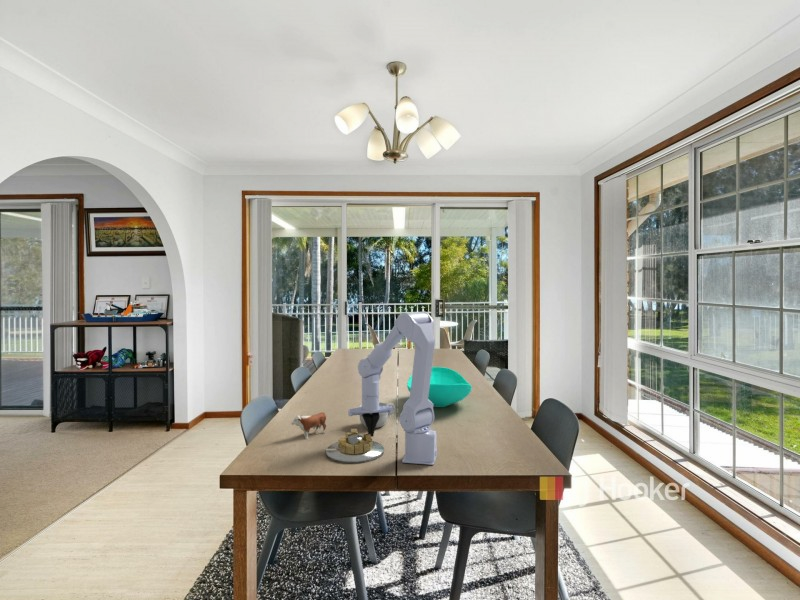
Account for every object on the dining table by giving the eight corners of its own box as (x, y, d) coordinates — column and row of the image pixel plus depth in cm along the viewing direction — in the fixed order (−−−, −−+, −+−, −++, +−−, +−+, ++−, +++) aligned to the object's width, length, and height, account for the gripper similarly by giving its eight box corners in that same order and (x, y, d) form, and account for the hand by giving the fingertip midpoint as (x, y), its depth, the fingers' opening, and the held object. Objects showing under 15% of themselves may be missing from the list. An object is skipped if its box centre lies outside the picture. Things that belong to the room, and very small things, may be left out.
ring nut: (378, 439, 152) (378, 429, 152) (366, 454, 138) (366, 443, 138) (348, 437, 154) (348, 427, 154) (333, 452, 140) (333, 441, 140)
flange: (389, 444, 151) (389, 429, 151) (375, 465, 134) (375, 449, 133) (337, 440, 155) (337, 426, 155) (317, 460, 137) (317, 444, 137)
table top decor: (480, 417, 181) (480, 384, 180) (410, 419, 180) (410, 385, 179) (462, 393, 221) (462, 366, 220) (404, 394, 219) (404, 367, 219)
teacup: (361, 431, 165) (361, 409, 164) (356, 422, 175) (356, 402, 175) (399, 428, 168) (399, 406, 168) (392, 419, 179) (392, 399, 178)
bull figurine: (289, 439, 157) (289, 415, 157) (322, 430, 166) (322, 407, 166) (296, 442, 154) (296, 418, 154) (329, 433, 163) (329, 410, 163)
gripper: (388, 390, 158) (389, 430, 158) (346, 393, 154) (347, 433, 154) (394, 395, 151) (394, 436, 151) (350, 398, 147) (350, 440, 147)
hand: (370, 435), depth 152 cm, fingers closed
